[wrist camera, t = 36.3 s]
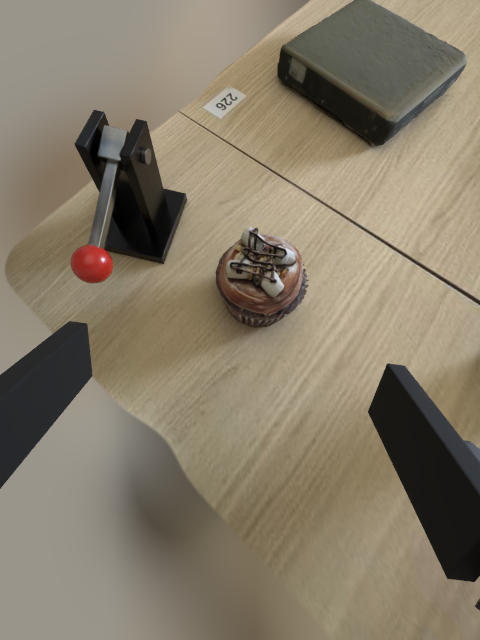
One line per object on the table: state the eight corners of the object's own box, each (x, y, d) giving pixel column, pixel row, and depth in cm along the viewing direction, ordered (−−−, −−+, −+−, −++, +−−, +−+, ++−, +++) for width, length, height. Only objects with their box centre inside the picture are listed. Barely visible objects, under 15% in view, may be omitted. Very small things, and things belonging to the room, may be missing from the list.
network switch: (339, 23, 56) (350, -15, 51) (456, 81, 52) (479, 46, 47) (265, 88, 49) (269, 52, 44) (394, 162, 45) (414, 130, 40)
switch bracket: (163, 264, 37) (135, 185, 25) (100, 249, 37) (42, 164, 25) (187, 200, 41) (171, 103, 29) (129, 186, 41) (89, 85, 29)
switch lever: (114, 288, 31) (97, 285, 27) (80, 280, 31) (58, 276, 27) (146, 149, 30) (132, 127, 27) (111, 141, 30) (92, 118, 27)
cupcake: (289, 344, 35) (314, 312, 25) (207, 322, 35) (201, 283, 26) (304, 271, 38) (331, 219, 28) (228, 253, 38) (230, 195, 29)
